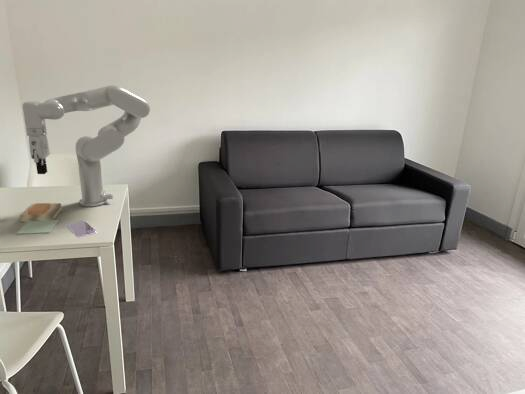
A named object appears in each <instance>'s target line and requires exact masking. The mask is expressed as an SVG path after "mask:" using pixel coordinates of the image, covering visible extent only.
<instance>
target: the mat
mask: <svg viewBox="0 0 525 394" xmlns="http://www.w3.org/2000/svg"><path fill="white" fill-rule="evenodd" d="M59 222H60V219H59V220H58V219H57V220H56V219H53V220H48V221H28V222H25V224H24V225H23V226H22V227H21V228H20V229H19V230H18V231H17V232H16V235H35V234H50V233H52V231H53V230H54V228H55V227H56V226H57V225H58V223H59Z"/></svg>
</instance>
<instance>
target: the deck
mask: <svg viewBox="0 0 525 394" xmlns="http://www.w3.org/2000/svg"><path fill="white" fill-rule="evenodd" d="M34 204H35V203H31V204H30V205H29V206H28V207H27V208H26V209H25V210H23V211H22V213H21V214H19V217H20V222H21V223H27V222H28V221H48V220H55V218H56V217H57V216H58V215H59V214H60V212H61V211H62V203H61V202H60V203H58V202H57V203H50V208H49V209H48V210H47V211H46V213H45V214H44V215H28V210H29V209H30V208H31V207H32V206H33V205H34Z"/></svg>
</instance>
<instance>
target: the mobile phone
mask: <svg viewBox="0 0 525 394" xmlns="http://www.w3.org/2000/svg"><path fill="white" fill-rule="evenodd" d="M66 226H67V228H68V229H69V230H71V232H72V233H73V234H74V235H75V237H77V238H83V237H86V236H91V235H95V234H97V233H98V231H97V230H95V228H93V227H92V225H91V224H90V223H88V222H87V221H86V220H80V221H77V222H72V223H68V224H67V225H66Z"/></svg>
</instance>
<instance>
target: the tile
mask: <svg viewBox="0 0 525 394" xmlns="http://www.w3.org/2000/svg"><path fill="white" fill-rule="evenodd" d="M33 204H34V205H33V206H32V207H31V208H30V209H29V210H28V215H44V214H45V213H46V211H47V210H48V209H49V208H50V204H51V203H50V202H42V203H33Z"/></svg>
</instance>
